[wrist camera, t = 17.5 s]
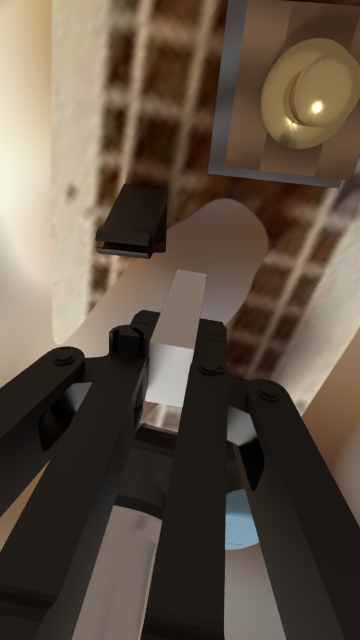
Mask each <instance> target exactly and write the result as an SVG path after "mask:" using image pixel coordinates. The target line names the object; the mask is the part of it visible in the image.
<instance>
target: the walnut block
mask: <svg viewBox="0 0 360 640" xmlns="http://www.w3.org/2000/svg"><path fill="white" fill-rule="evenodd" d="M313 38H325V39H330V40H333V41H335V42H337V43H339V44H340V45H342V46H343V47H344V48H345V49H346V50H347V51H348V53H349V54H350V55H351V56H352V57H354V58H355V59H356V61H357V62H358V64H359V65H360V6H353V5H339V4H325V3H311V2H297V1H283V0H228V8H227V16H226V25H225V33H224V41H223V50H222V58H221V66H220V75H219V83H218V92H217V100H216V108H215V117H214V125H213V133H212V142H211V150H210V159H209V167H208V174H216V175H225V176H234V177H243V178H251V179H260V180H269V181H278V182H287V183H296V184H305V185H314V186H323V187H331V188H339V187H340V184H341V181H342V180H348V181H351V178H352V175H353V172H354V169H355V166H356V163H357V160H358V157H359V155H360V98H359V100H358V102H357V104H356V106H355V107H354V109H353V110H352V112H351V113H350V114H349V116H348V118H347V119H346V121H345V122H344V124H343V125H342V126H341V128H340V129H339V130H338V131H337V132H336V133H335V134H334V135H333V136H331V137H330V138H329V139H327V140H326V141H324V142H322V143H321V144H319V145H316V146H313V147H310V148H304V149H295V148H289V147H287V146H284V145H282V144H280V143H278V142H277V141H276V140H274V139H273V138H272V137H271V136H270V135H269V133H268V132H267V130H266V129H265V127H264V124H263V122H262V118H261V113H260V97H261V92H262V88H263V85H264V82H265V79H266V77H267V75H268V73H269V72H270V70H271V68H272V67H273V66H274V64H275V63H276V62H277V60H278V59H279V58H280V57H281V56H282V55H283V54H284V53H285V52H286V51H287V50H288V49H290V48H291V47H293V46H294V45H296V44H298V43H300V42H302V41H305V40H308V39H313Z"/></svg>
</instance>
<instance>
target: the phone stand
mask: <svg viewBox="0 0 360 640" xmlns="http://www.w3.org/2000/svg"><path fill="white" fill-rule="evenodd" d="M167 201H168V188H163V187H152V186H141V185H130V184H124V185H123V187H122V189H121V191H120V193H119V195H118V197H117V199H116V201H115V203H114V205H113V207H112V209H111V211H110V213H109V215H108V217H107V219H106V221H105V223H104V225H103V226H102V227H99V228H98V230H97V233H96V239H95V240H96V241H105V242H104V245H103V247H97V248H96V250H97V252H98V253H100V254H109V255H118V256H127V257H136V258H146V259H150V258H151V256H152V254H153V253H156V252H157V253H162V252H165V251H166V228H167Z"/></svg>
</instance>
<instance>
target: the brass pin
mask: <svg viewBox="0 0 360 640" xmlns="http://www.w3.org/2000/svg"><path fill="white" fill-rule="evenodd" d="M359 98H360V65H359V64H358V62H357V61H356V59H355V58H354V57H352V56H351V55H350V54H349V53H348V51H347V50H346V49H345V48H344V47H343V46H342V45H340V44H339V43H337V42H335V41H333V40H330V39H325V38H313V39H308V40H305V41H302V42H300V43H298V44H296V45H294V46H293V47H291V48H290V49H288V50H287V51H286V52H285V53H284V54H283V55H282V56H281V57H280V58H279V59H278V60H277V62H276V63H275V64H274V66H273V67H272V68H271V70H270V72H269V73H268V75H267V77H266V79H265V82H264V85H263V88H262V92H261V97H260V113H261V118H262V122H263V124H264V127H265V129H266V130H267V132H268V133H269V135H270V136H271V137H272V138H273V139H274V140H276V141H277V142H278V143H280V144H282V145H284V146H287V147H289V148H295V149H304V148H310V147H313V146H316V145H319V144H321V143H322V142H324V141H326V140H327V139H329V138H330V137H331V136H333V135H334V134H335V133H336V132H337V131H338V130H339V129H340V128H341V126H342V125H343V124H344V122H345V121H346V119H347V118H348V116H349V114H350V113H351V112H352V110H353V109H354V107H355V106H356V104H357V102H358V100H359Z"/></svg>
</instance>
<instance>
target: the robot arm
mask: <svg viewBox="0 0 360 640" xmlns="http://www.w3.org/2000/svg"><path fill="white" fill-rule="evenodd" d="M206 276H207V274H204V273H198V272H192V271H185V270H179V269H178V270H177V272H176V276H175V278H174V280H173V283H172V285H171V288H170V291H169V293H168V296H167V298H166V301H165V304H164V307H163V309H162V311H161V313H159V312H153V311H147V310H142V311H140V312H139V313H137V314H136V315H135V316H134V318H133V320H132V322H131V324H130V325H121V326H117V327H115V328H113V329H112V330H111V331H110V332H109V353H108V355H106V356H103V357H94V358H85V356H84V354H83V352H82V351H81V350H79V349H78V348H74V347H70V346H67V347H59V348H55V349H53V350H51V351H49V352H47V353H46V354H45V355H43V356H42V357H41V358H39V359H38V360H37V361H36V362H34V363H33V364H32V365H30V366H29V367H28V368H26V369H25V370H24V371H22V372H21V373H20V374H19V375H17V376H16V377H15V378H13V379H12V380H11V381H9V382H8V383H7V384H5V385H4V386H3V387H1V388H0V517H1V516H2V515H3V514H4V513H5V512H6V510H7V509H8V508H9V507H10V506H11V505H12V503H13V502H14V501H15V500H16V499H17V498H18V496H19V495H20V494H21V493H22V492H23V491H24V489H25V488H26V487H27V486H28V485H29V484H30V482H31V481H32V480H33V479H34V478H35V477H36V476H37V474H38V473H39V472H40V471H41V470H42V469H43V467H44V466H45V465H46V464H47V463H48V462H49V460H50V459H51V460H50V462H49V464H48V465H47V467H46V469H45V471H44V473H43V475H42V476H41V478H40V480H39V482H38V484H37V485H36V487H35V489H34V491H33V493H32V495H31V497H30V498H29V500H28V502H27V504H26V506H25V508H24V509H23V511H22V513H21V515H20V517H19V519H18V520H17V522H16V524H15V526H14V528H13V530H12V532H11V533H10V535H9V537H8V539H7V541H6V542H5V544H4V546H3V548H2V550H1V552H0V640H138V635H139V630H140V625H141V620H142V615H143V610H144V605H145V599H146V595H147V590H148V585H149V580H150V574H151V570H152V565H153V559H154V555H155V550H156V545H157V544H158V547H157V552H156V558H155V563H154V569H153V574H152V580H151V586H150V591H149V597H148V602H147V608H146V613H145V619H144V624H143V629H142V633H141V639H140V640H225V639H224V586H225V585H224V583H225V550H230V549H240V548H244V547H247V546H251V545H254V544H256V543H258V542H259V543H260V546H261V550H262V553H263V557H264V561H265V564H266V568H267V572H268V575H269V579H270V582H271V586H272V589H273V593H274V597H275V600H276V604H277V608H278V611H279V614H280V618H281V622H282V626H283V629H284V632H285V636H286V640H360V527H359V525H358V523H357V521H356V520H355V518H354V516H353V514H352V512H351V510H350V508H349V507H348V504H347V503H346V501H345V499H344V497H343V495H342V493H341V491H340V490H339V488H338V486H337V484H336V482H335V480H334V478H333V477H332V475H331V473H330V471H329V469H328V467H327V465H326V463H325V461H324V459H323V458H322V456H321V454H320V452H319V450H318V448H317V446H316V444H315V442H314V441H313V439H312V437H311V435H310V433H309V431H308V429H307V428H306V426H305V424H304V422H303V420H302V418H301V416H300V414H299V412H298V411H297V409H296V407H295V405H294V403H293V401H292V399H291V397H290V395H289V394H288V392H287V391H286V390H285V388H284V387H282V386H281V385H279V384H278V383H276V382H273V381H271V380H265V379H260V380H255V381H253V382H250V381H247V380H243V379H237V378H234V377H233V376H232V375H231V374H230V373H229V372H228V369H227V367H226V337H227V329H226V327H225V326H224V324H223V323H222V322H219V321H213V320H207V319H201V318H200V313H201V307H202V300H203V295H204V289H205V283H206ZM145 395H146V401H150V402H155V403H160V404H166V405H171V406H177V407H182V413H181V419H180V424H179V430H178V432H174V431H170V430H167V429H163V428H159V427H155V426H152V425H148V424H147V423H139V421H140V418H141V415H142V411H143V401H144V398H145Z"/></svg>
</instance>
